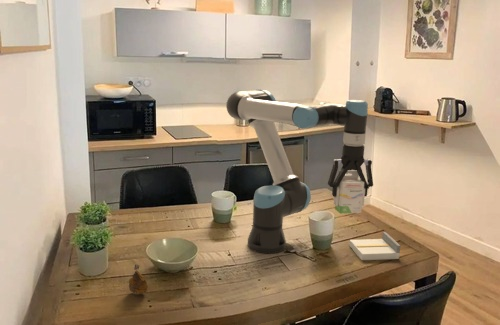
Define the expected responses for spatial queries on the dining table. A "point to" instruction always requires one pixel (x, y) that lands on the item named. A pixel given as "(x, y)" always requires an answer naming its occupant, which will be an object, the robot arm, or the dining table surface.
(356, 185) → the ink box
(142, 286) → the brown pointed lump
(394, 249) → the dock
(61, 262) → the dining table surface
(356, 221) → the dining table surface
